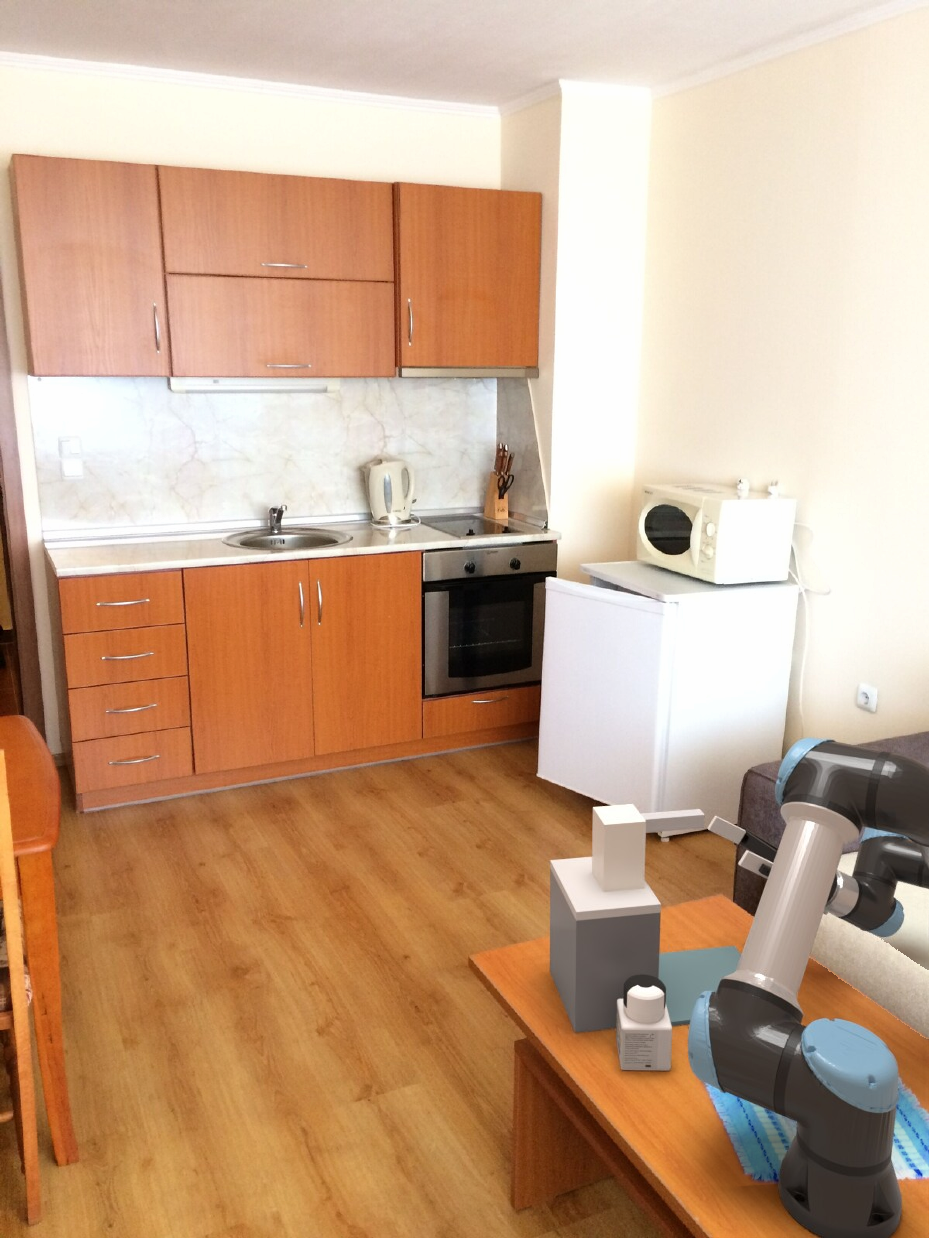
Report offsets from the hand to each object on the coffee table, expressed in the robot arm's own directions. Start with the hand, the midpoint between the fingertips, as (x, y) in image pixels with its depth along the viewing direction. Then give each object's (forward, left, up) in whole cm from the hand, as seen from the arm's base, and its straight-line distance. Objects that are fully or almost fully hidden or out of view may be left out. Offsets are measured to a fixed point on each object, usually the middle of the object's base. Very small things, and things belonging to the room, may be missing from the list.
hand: (726, 839), depth 177 cm
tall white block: (-7, +12, -6) cm, 15 cm away
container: (-24, +9, -28) cm, 38 cm away
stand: (-11, +19, -28) cm, 35 cm away
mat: (-2, +3, -28) cm, 28 cm away
